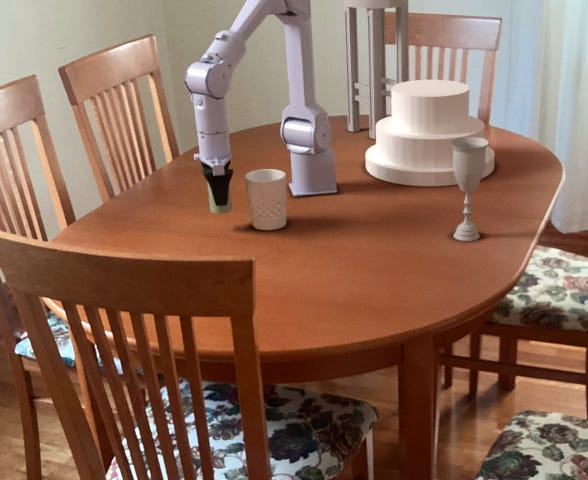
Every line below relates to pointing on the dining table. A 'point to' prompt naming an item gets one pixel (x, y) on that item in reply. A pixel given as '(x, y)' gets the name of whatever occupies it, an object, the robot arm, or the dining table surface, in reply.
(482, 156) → the chalice
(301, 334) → the dining table surface
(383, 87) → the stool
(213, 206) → the salt shaker
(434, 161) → the cake
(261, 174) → the white cup
